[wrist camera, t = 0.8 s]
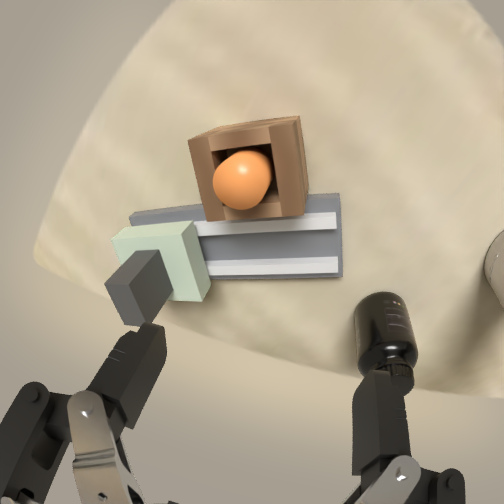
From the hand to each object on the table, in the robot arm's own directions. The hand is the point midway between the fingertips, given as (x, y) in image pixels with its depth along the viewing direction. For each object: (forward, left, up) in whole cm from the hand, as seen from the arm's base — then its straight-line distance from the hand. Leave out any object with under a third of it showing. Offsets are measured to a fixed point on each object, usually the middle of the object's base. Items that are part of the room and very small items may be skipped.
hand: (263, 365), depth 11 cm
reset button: (+4, -3, -16) cm, 17 cm away
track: (+9, +6, -22) cm, 24 cm away
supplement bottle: (-8, +17, -22) cm, 29 cm away
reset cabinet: (+4, -3, -22) cm, 22 cm away
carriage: (+16, +6, -19) cm, 25 cm away
